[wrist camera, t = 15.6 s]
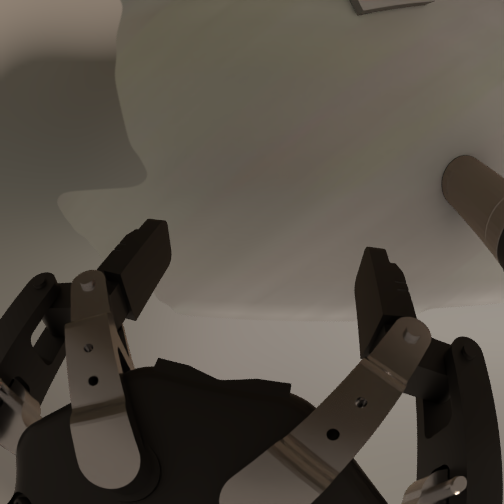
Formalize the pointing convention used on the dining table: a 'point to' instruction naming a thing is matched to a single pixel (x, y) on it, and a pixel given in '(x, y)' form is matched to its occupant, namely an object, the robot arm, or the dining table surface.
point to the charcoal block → (384, 5)
